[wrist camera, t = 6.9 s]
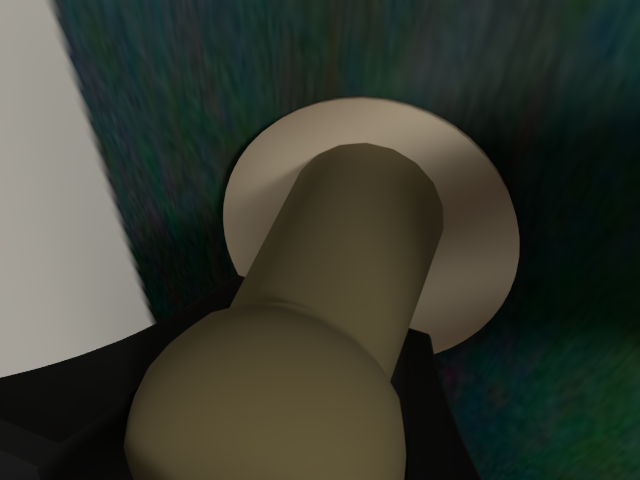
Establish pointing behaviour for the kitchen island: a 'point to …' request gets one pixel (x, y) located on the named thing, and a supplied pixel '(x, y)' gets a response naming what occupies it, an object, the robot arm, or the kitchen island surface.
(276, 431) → the pepper shaker
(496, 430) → the kitchen island surface
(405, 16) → the kitchen island surface
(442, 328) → the cork trivet
